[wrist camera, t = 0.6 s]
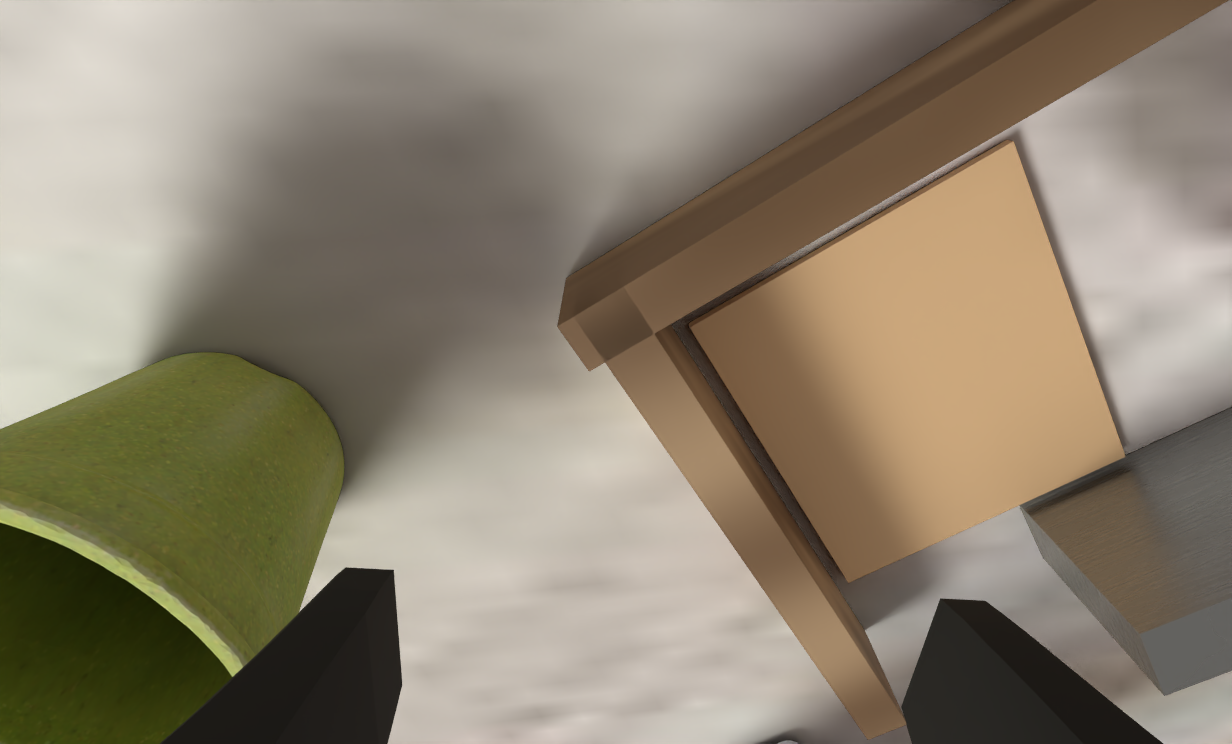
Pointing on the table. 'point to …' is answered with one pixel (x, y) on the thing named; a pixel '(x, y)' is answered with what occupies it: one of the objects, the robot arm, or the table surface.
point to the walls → (796, 216)
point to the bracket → (1152, 551)
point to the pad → (918, 368)
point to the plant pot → (154, 544)
